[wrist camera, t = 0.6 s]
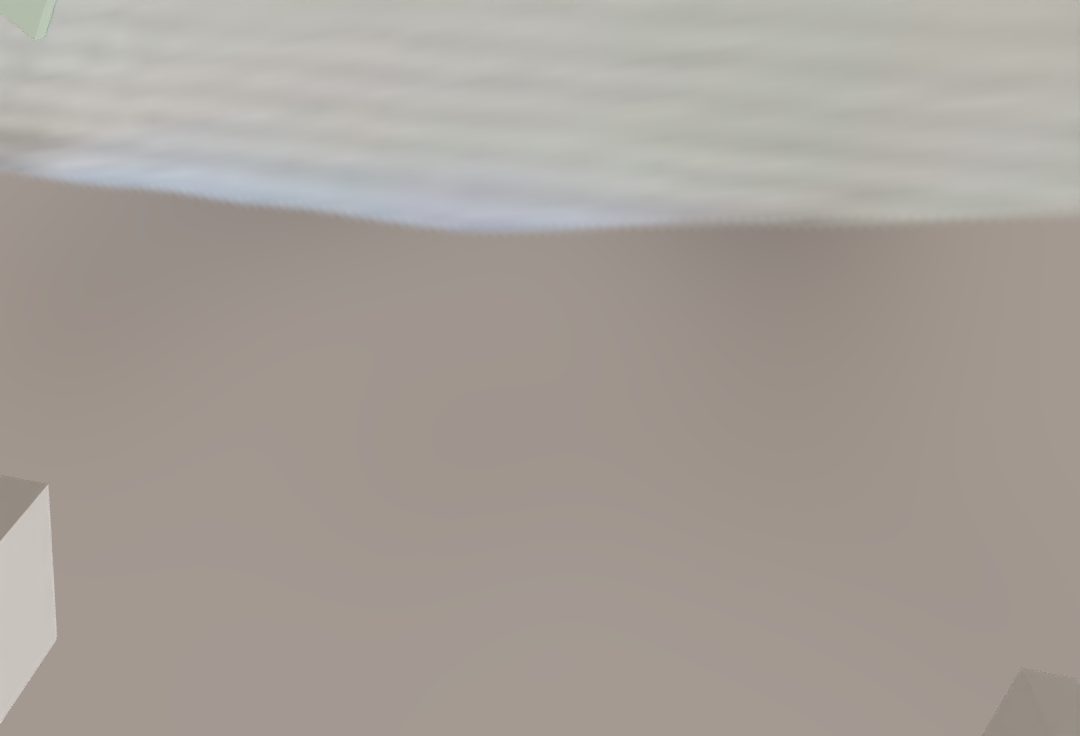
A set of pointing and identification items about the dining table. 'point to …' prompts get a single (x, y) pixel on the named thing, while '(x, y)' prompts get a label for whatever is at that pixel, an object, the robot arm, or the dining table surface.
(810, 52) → the dining table surface
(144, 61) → the dining table surface
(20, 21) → the mat
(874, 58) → the dining table surface
